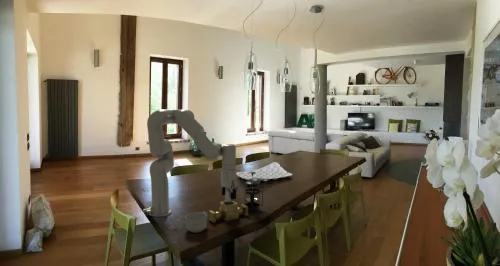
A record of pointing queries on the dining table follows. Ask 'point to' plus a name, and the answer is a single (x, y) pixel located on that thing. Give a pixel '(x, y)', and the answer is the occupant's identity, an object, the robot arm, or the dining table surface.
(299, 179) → the dining table surface
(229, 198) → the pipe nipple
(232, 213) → the valve body
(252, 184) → the french press
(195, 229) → the teacup
